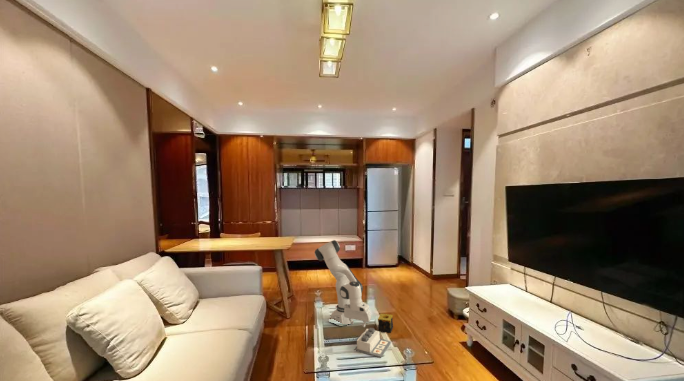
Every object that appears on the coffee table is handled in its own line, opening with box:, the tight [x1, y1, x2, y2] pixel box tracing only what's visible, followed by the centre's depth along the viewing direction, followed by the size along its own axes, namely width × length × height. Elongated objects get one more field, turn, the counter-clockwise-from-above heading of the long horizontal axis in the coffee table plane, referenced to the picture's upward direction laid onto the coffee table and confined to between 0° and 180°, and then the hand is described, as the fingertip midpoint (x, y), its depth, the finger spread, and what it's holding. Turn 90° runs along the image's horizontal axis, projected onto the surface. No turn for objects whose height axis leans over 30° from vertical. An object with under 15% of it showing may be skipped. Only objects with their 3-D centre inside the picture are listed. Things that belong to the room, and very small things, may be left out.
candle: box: [377, 313, 394, 334], centre depth 204 cm, size 10×10×10 cm
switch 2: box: [367, 327, 376, 334], centre depth 188 cm, size 4×4×6 cm
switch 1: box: [361, 335, 368, 342], centre depth 179 cm, size 4×4×6 cm
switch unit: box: [353, 328, 392, 359], centre depth 182 cm, size 20×19×7 cm
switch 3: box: [365, 331, 372, 338], centre depth 184 cm, size 4×4×6 cm
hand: (358, 325), depth 181 cm, fingers open, 8 cm apart
